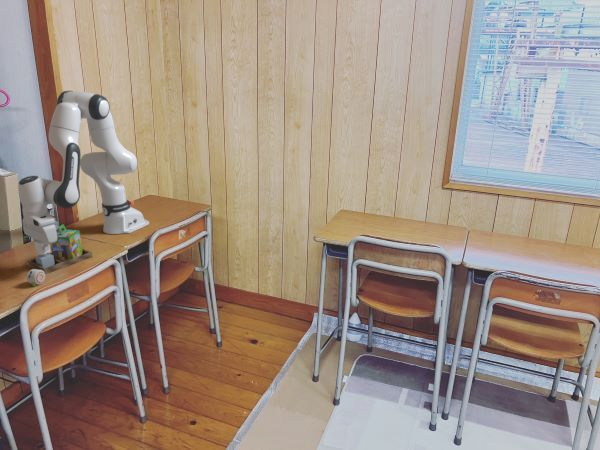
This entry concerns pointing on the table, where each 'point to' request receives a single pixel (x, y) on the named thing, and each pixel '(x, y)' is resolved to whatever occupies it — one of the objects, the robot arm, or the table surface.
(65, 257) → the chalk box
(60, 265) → the divider frame
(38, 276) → the roller toy
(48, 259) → the slate cube
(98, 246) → the table surface
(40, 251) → the eraser
